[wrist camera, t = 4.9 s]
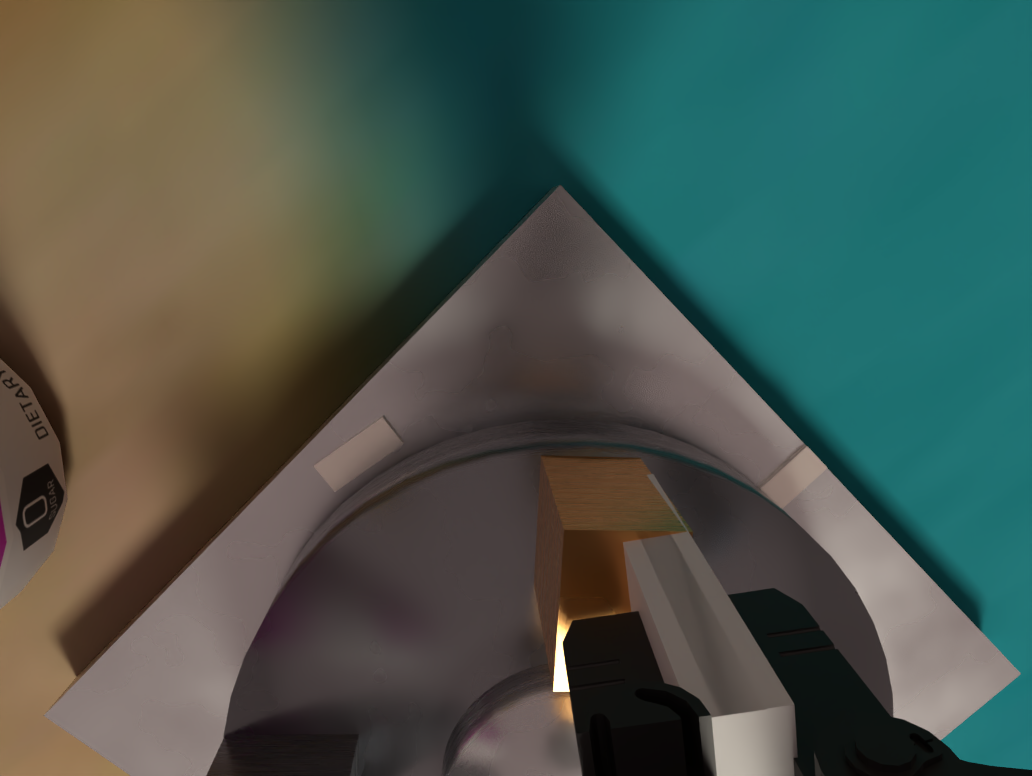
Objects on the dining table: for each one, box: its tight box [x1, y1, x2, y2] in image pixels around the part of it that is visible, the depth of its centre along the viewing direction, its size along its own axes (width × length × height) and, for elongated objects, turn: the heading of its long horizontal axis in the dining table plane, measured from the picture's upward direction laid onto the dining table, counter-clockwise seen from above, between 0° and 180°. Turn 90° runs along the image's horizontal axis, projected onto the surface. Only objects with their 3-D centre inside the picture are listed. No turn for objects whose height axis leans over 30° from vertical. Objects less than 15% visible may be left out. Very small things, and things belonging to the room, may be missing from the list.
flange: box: [44, 185, 1021, 776], centre depth 19 cm, size 18×18×2 cm
